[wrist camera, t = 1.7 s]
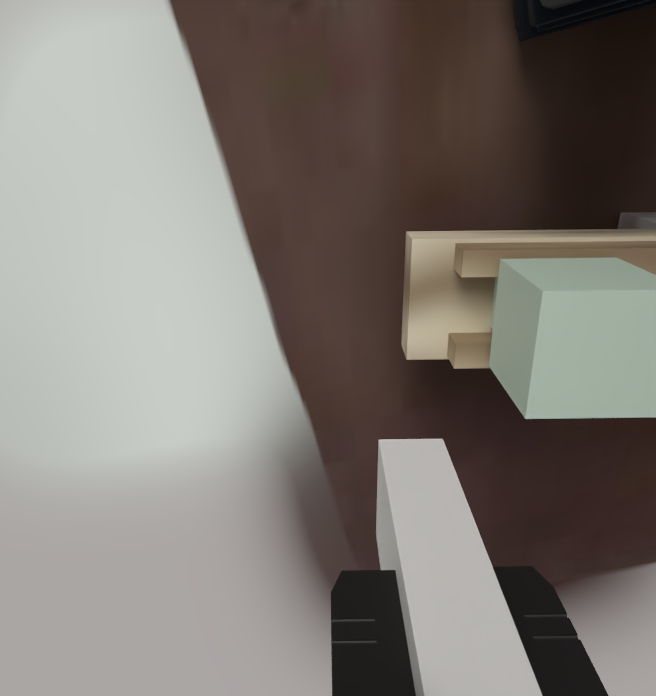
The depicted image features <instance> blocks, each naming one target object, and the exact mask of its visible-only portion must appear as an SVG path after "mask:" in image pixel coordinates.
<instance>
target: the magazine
mask: <svg viewBox="0 0 656 696" xmlns="http://www.w3.org/2000/svg"><path fill="white" fill-rule="evenodd" d="M513 2H514V12H515V22H516V29H517V31H518V34H519V41H523V40H527V39H530V38H534V37H538V36H542V35H545V34H549V33H553V32H557V31H560V30H564V29H568V28H571V27H575V26H579V25H583V24H586V23H590V22H594V21H598V20H601V19H605V18H609V17H612V16H616V15H620V14H624V13H627V12H631V11H635V10H639V9H642V8H646V7H650V6H653V5H656V0H513Z"/></svg>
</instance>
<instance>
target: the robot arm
mask: <svg viewBox="0 0 656 696" xmlns="http://www.w3.org/2000/svg"><path fill="white" fill-rule="evenodd" d="M376 537H377V545H378V552H379V560H380V568H381V570H360V571H341V573H340V575H339V577H338V579H337V581H336V584H335V586H334V587H333V589H332V591H331V637H332V640H331V641H332V642H331V643H332V696H608V694H607V692H606V690H605V688H604V686H603V684H602V682H601V680H600V678H599V676H598V674H597V672H596V671H595V668H594V666H593V664H592V662H591V660H590V658H589V656H588V655H587V652H586V651H585V648H584V646H583V644H582V642H581V641H580V640H578V637H577V633H576V631H575V629H574V627H573V625H572V623H571V621H570V619H569V618H567V615H566V614H567V613H566V611H565V609H564V607H563V605H562V603H561V601H560V599H559V597H558V595H557V593H556V591H555V589H554V588H553V586H552V585H551V584H550V583H549V582H547V581H546V580H545V579H544V578H543V577H542V576H541V575H540V574H539V573H538V572H537V571H536V570H535V569H534V568H533V567H532V566H520V567H492V564H491V562H490V559H489V557H488V554H487V552H486V549H485V546H484V544H483V541H482V539H481V536H480V534H479V531H478V528H477V526H476V523H475V521H474V518H473V515H472V513H471V510H470V508H469V505H468V503H467V500H466V497H465V495H464V492H463V490H462V487H461V485H460V482H459V479H458V477H457V474H456V472H455V469H454V467H453V464H452V461H451V459H450V456H449V454H448V451H447V449H446V446H445V443H444V441H443V439H383V440H379V443H378V481H377V519H376Z"/></svg>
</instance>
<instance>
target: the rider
mask: <svg viewBox="0 0 656 696" xmlns="http://www.w3.org/2000/svg"><path fill="white" fill-rule="evenodd" d="M490 327H491V328H492V330H493V331H492V340H491V350H490V359H489V367H490V368H491V370H492V371H493V373H494V374H495V376H496V377H497V379H498V380H499V381H500V383H501V384H502V386H503V387H504V389H505V390H506V392H507V393H508V395H509V396H510V397H511V399H512V400H513V402H514V403H515V405H516V406H517V408H518V409H519V411H520V412H521V414H522V415H523V416H524V418H525V419H559V418H641V417H656V275H655V274H652V273H650V272H648V271H646V270H643V269H641V268H639V267H637V266H635V265H632V264H630V263H628V262H626V261H623V260H621V259H619V258H531V259H500V265H499V274H498V277H495V285H494V294H493V304H492V313H491V323H490Z"/></svg>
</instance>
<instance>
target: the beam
mask: <svg viewBox="0 0 656 696" xmlns="http://www.w3.org/2000/svg"><path fill="white" fill-rule="evenodd" d="M531 258H619V259H621V260H623V261H626V262H628V263H630V264H632V265H635V266H637V267H639V268H641V269H643V270H646V271H648V272H650V273H652V274H655V275H656V212H637V213H620V218H619V223H618V229H584V230H497V231H410V232H406V247H405V271H404V295H403V319H402V343H401V345H402V348H403V351H404V354H405V357H406V359H407V360H426V359H449V360H450V362H451V364H452V366H453V368H454V369H464V368H490V367H489V359H490V350H491V340H492V331H493V330H492V328H491V327H490V323H491V313H492V304H493V294H494V285H495V277H498V274H499V265H500V259H531Z"/></svg>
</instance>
